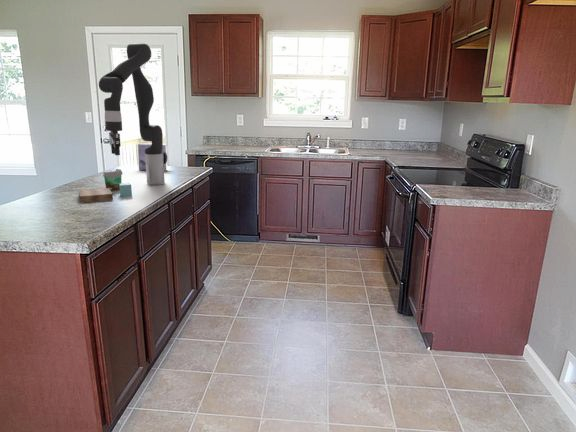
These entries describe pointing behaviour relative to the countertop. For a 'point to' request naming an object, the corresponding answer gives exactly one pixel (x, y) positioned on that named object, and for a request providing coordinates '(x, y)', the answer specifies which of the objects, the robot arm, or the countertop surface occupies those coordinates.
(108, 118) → the robot arm
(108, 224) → the countertop surface
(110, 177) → the food container
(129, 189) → the teal block
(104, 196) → the walnut base
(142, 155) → the cake pan box
